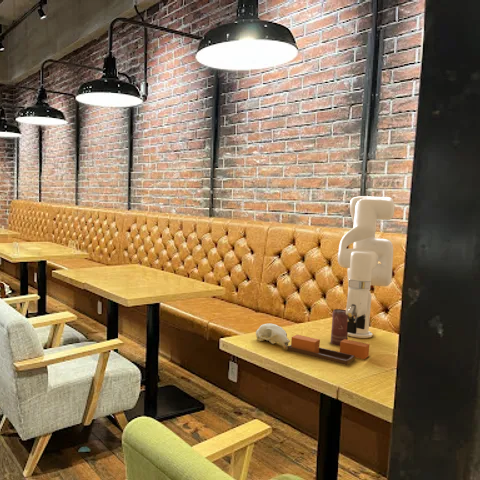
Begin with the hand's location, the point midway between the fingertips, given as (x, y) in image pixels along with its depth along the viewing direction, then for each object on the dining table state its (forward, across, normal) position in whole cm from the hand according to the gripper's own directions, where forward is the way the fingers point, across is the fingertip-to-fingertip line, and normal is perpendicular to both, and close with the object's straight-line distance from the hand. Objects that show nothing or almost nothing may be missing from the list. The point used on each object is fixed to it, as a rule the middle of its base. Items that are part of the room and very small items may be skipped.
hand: (355, 330), depth 179 cm
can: (+10, -11, -9) cm, 17 cm away
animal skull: (+10, +9, -28) cm, 31 cm away
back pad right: (+10, -1, 0) cm, 10 cm away
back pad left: (+9, +9, -15) cm, 20 cm away
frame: (+10, +9, -9) cm, 16 cm away
